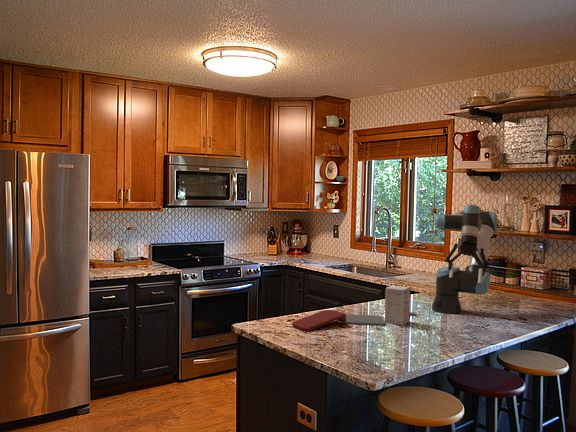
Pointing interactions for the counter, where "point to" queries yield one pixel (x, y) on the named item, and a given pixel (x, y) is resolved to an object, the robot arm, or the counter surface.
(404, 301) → the supplement box
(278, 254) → the counter surface
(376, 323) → the mat
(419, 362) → the counter surface
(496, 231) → the robot arm
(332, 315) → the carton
